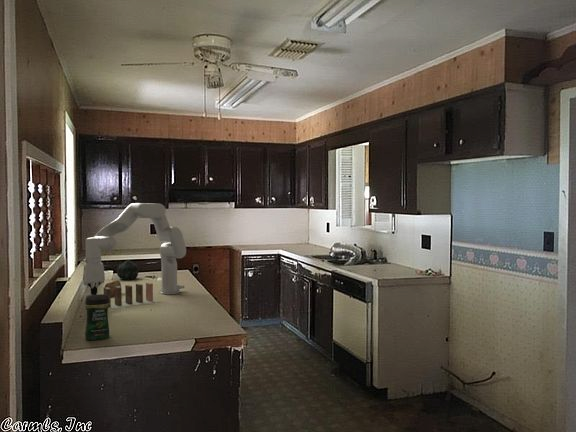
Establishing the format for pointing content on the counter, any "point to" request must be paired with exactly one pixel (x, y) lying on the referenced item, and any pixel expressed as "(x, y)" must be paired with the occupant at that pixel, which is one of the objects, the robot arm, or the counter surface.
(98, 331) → the coffee jar
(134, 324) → the counter surface
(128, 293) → the domino
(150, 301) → the mat
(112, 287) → the tin
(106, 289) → the domino
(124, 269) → the squash
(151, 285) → the domino
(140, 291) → the domino
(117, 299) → the domino
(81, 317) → the counter surface
